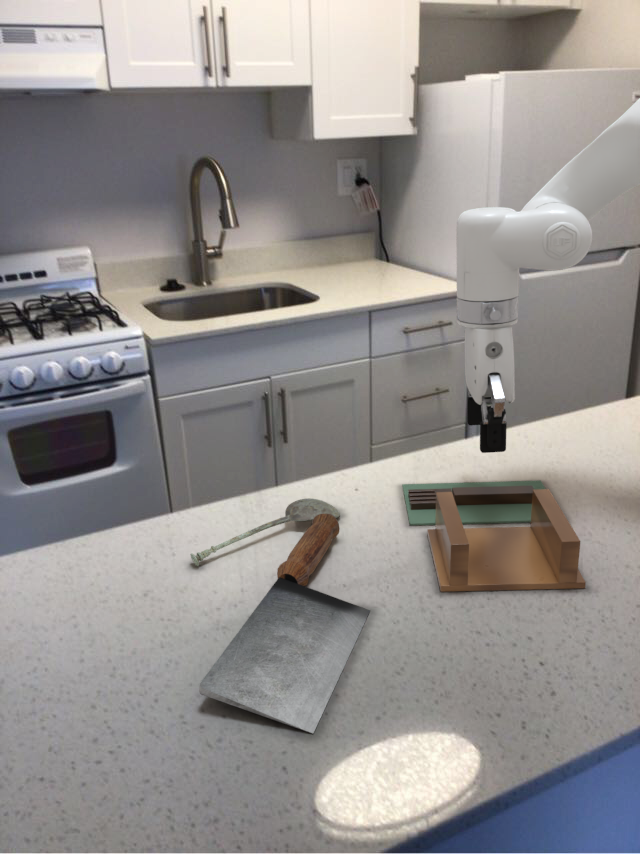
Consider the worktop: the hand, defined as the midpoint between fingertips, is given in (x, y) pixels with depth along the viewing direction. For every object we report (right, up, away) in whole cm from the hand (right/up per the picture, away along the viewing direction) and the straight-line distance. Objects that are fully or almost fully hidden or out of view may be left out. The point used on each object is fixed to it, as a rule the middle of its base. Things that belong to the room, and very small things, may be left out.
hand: (485, 437), depth 101 cm
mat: (0, -9, +4) cm, 10 cm away
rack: (-1, -15, -10) cm, 18 cm away
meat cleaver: (-23, -19, -19) cm, 35 cm away
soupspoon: (-29, -13, -3) cm, 32 cm away
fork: (-1, -9, +3) cm, 10 cm away
